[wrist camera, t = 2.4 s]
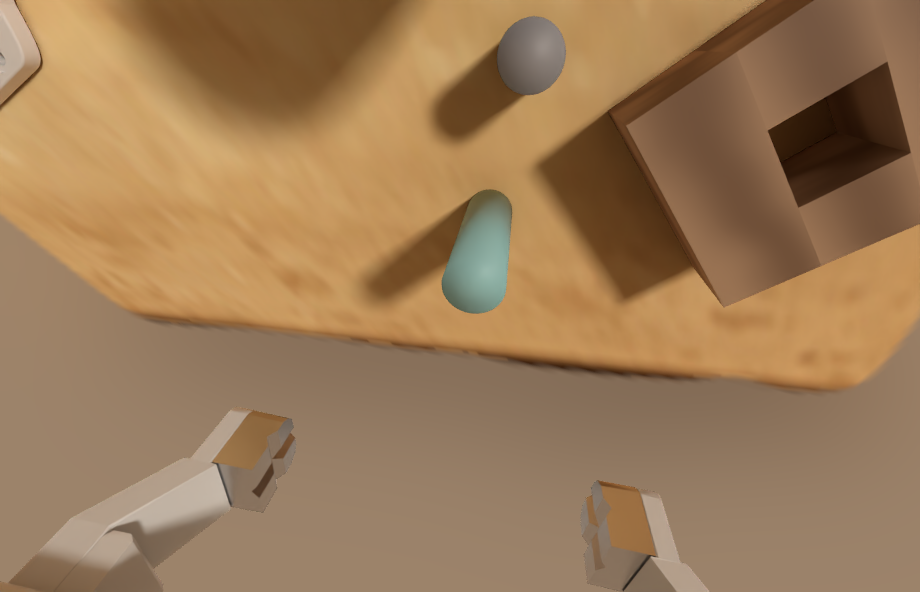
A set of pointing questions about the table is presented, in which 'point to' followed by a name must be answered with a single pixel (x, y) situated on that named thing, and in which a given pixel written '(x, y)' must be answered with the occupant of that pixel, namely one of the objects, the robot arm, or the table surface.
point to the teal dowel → (480, 255)
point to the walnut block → (752, 152)
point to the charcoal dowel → (531, 55)
